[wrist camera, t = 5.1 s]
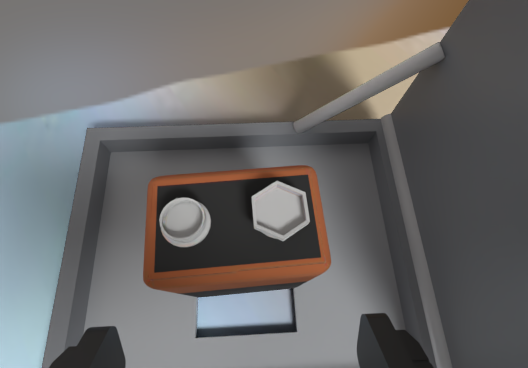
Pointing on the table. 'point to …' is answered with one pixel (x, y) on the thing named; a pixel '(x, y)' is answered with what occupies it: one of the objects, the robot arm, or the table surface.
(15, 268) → the table surface
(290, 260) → the battery
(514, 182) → the equipment case
